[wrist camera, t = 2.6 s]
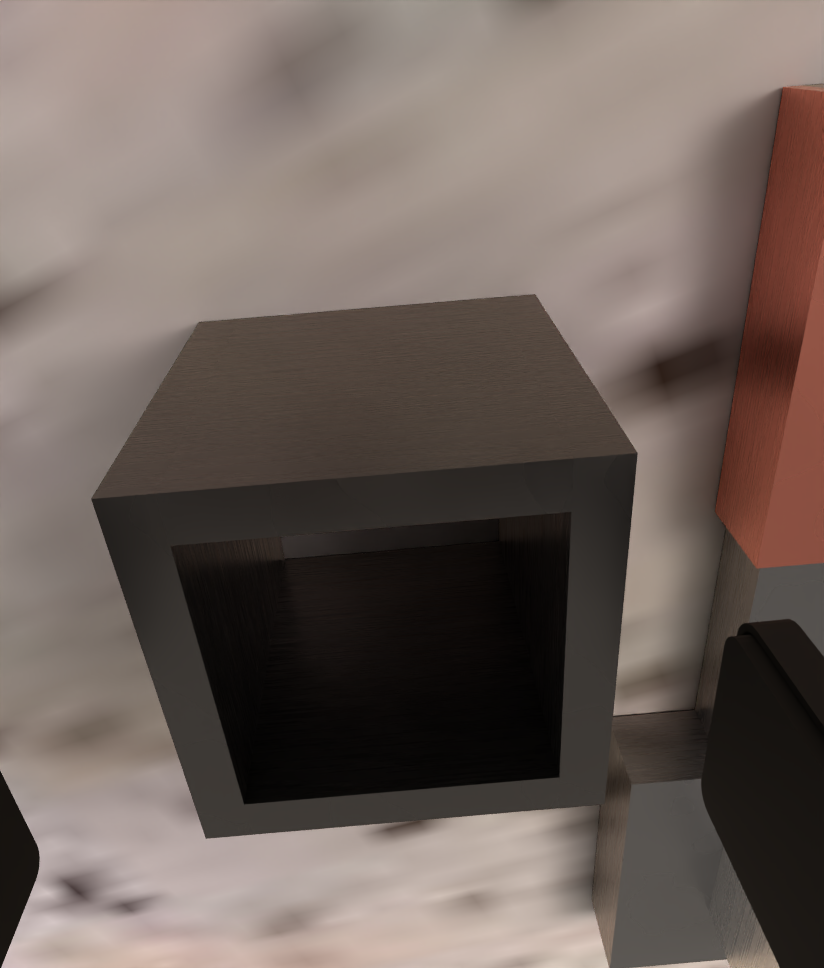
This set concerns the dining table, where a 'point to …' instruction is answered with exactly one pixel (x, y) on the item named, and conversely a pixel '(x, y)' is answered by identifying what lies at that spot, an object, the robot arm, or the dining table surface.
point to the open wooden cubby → (377, 565)
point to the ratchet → (732, 591)
